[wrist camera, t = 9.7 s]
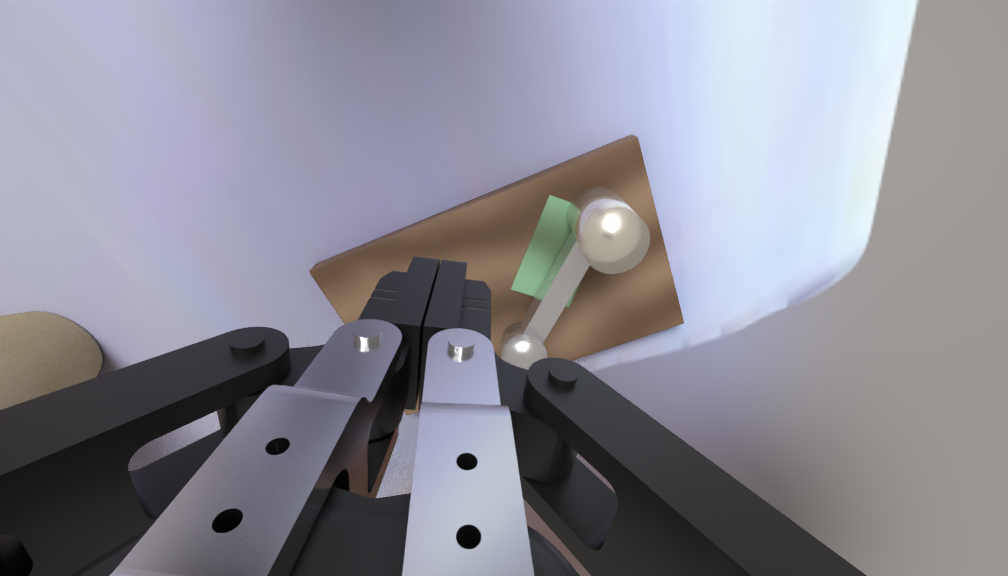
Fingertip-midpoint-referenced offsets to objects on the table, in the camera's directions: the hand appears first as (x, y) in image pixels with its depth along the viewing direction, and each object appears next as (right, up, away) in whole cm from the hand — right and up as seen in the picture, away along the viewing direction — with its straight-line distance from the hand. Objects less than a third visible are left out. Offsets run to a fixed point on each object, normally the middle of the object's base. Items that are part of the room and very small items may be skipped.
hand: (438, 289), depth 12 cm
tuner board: (+2, 0, +24) cm, 24 cm away
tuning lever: (+6, +1, +21) cm, 22 cm away
